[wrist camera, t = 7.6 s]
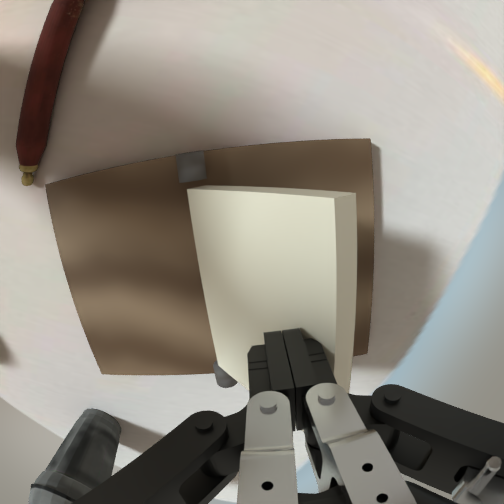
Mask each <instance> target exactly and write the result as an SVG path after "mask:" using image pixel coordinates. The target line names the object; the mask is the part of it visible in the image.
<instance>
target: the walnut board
mask: <svg viewBox="0 0 504 504" xmlns="http://www.w3.org/2000/svg"><path fill="white" fill-rule="evenodd" d="M205 185H213V186H251V187H275V188H294V189H310V190H325V191H338V192H350V193H356V211H357V289H356V313H355V331H354V345H353V356H358V355H363V354H367V351H368V342H369V332H370V320H371V307H372V291H373V269H374V191H373V169H372V153H371V140H370V139H331V140H310V141H295V142H281V143H269V144H259V145H249V146H240V147H231V148H223V149H215V150H208V151H197V152H189V153H183V154H178V155H175V156H169V157H164V158H158V159H153V160H147V161H142V162H137V163H132V164H127V165H122V166H118V167H113V168H109V169H104V170H100V171H96V172H92V173H87V174H83V175H79V176H75V177H72V178H68V179H64V180H60V181H57V182H53V183H50V184H46V185H45V187H46V193H47V198H48V204H49V209H50V214H51V219H52V224H53V228H54V233H55V237H56V241H57V245H58V249H59V253H60V257H61V261H62V265H63V268H64V272H65V275H66V279H67V282H68V285H69V288H70V292H71V295H72V298H73V301H74V304H75V307H76V310H77V313H78V315H79V318H80V321H81V324H82V327H83V329H84V332H85V334H86V337H87V340H88V342H89V345H90V347H91V350H92V352H93V354H94V357H95V359H96V362H97V364H98V366H99V368H100V371H101V373H102V374H110V375H188V374H209V373H215V376H216V381H217V384H218V385H219V386H220V387H223V388H229V387H232V386H234V385H236V384H237V381H236V380H235V379H234V378H233V377H231V376H230V375H229V374H228V373H227V372H225V371H224V370H223V369H222V368H221V367H219V366H218V361H217V357H216V352H215V347H214V342H213V337H212V333H211V328H210V323H209V318H208V312H207V307H206V302H205V297H204V291H203V286H202V280H201V275H200V269H199V263H198V257H197V251H196V245H195V239H194V233H193V227H192V220H191V214H190V207H189V200H188V193H187V189H190V188H195V187H200V186H205Z"/></svg>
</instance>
